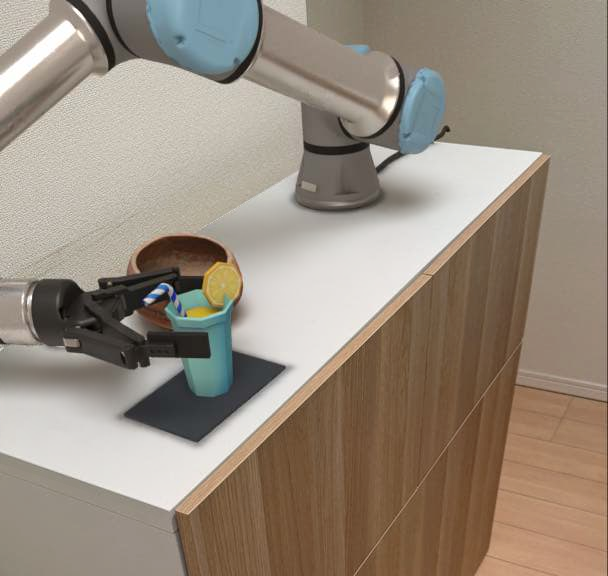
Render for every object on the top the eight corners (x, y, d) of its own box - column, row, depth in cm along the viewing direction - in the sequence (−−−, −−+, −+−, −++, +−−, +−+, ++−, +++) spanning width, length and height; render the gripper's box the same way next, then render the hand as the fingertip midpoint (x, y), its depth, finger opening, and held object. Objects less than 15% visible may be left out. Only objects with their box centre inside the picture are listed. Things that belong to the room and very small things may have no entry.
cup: (192, 426, 88) (170, 303, 78) (143, 407, 91) (115, 286, 81) (266, 371, 96) (255, 252, 86) (218, 355, 99) (202, 239, 89)
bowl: (162, 359, 100) (148, 286, 93) (117, 314, 110) (101, 245, 103) (266, 324, 106) (260, 252, 99) (214, 284, 116) (205, 217, 109)
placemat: (216, 348, 102) (216, 345, 101) (285, 368, 97) (285, 365, 97) (124, 416, 91) (123, 413, 90) (197, 442, 86) (196, 439, 86)
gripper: (86, 294, 101) (245, 296, 98) (9, 399, 83) (201, 405, 80) (72, 237, 96) (239, 237, 93) (-14, 335, 78) (191, 339, 75)
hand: (222, 315), depth 87 cm, fingers open, 13 cm apart
